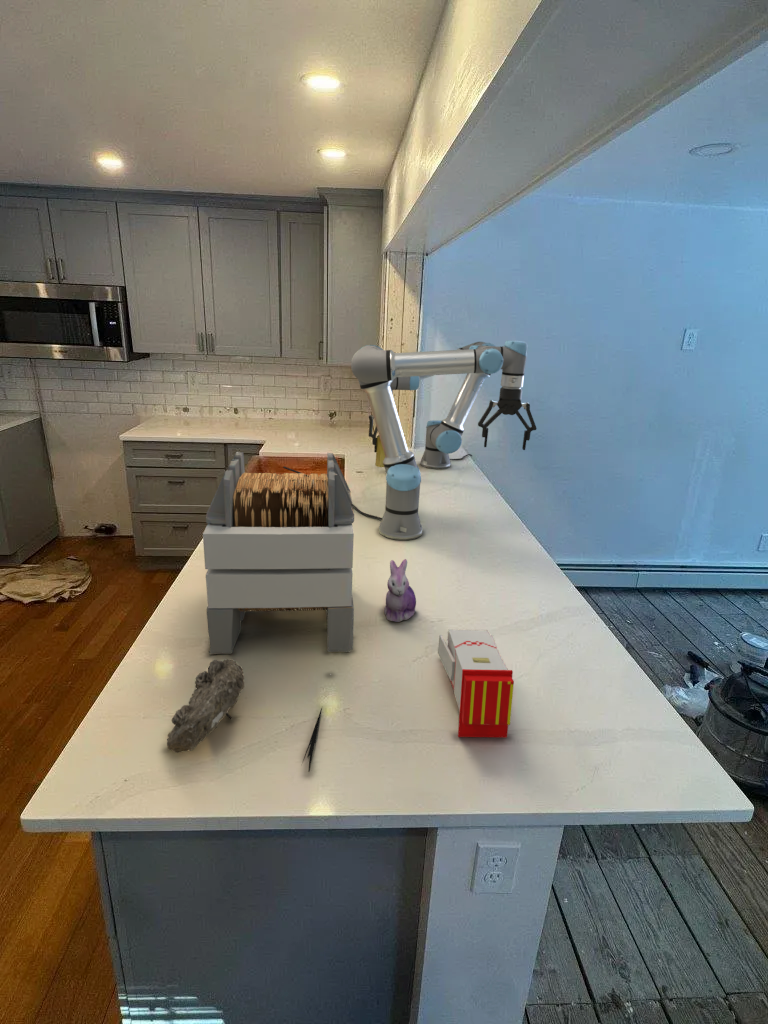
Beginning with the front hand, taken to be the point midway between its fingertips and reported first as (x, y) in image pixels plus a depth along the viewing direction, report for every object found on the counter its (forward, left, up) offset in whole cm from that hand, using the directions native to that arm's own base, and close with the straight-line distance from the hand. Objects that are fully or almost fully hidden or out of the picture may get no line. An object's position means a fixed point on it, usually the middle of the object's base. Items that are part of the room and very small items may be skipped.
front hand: (504, 447), depth 203 cm
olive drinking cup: (-76, +8, -26) cm, 81 cm away
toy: (+60, -83, -29) cm, 107 cm away
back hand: (-76, +8, -19) cm, 79 cm away
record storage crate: (+11, -98, -29) cm, 103 cm away
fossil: (+35, -128, -29) cm, 136 cm away
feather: (+48, -113, -29) cm, 126 cm away
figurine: (+28, -74, -29) cm, 84 cm away
